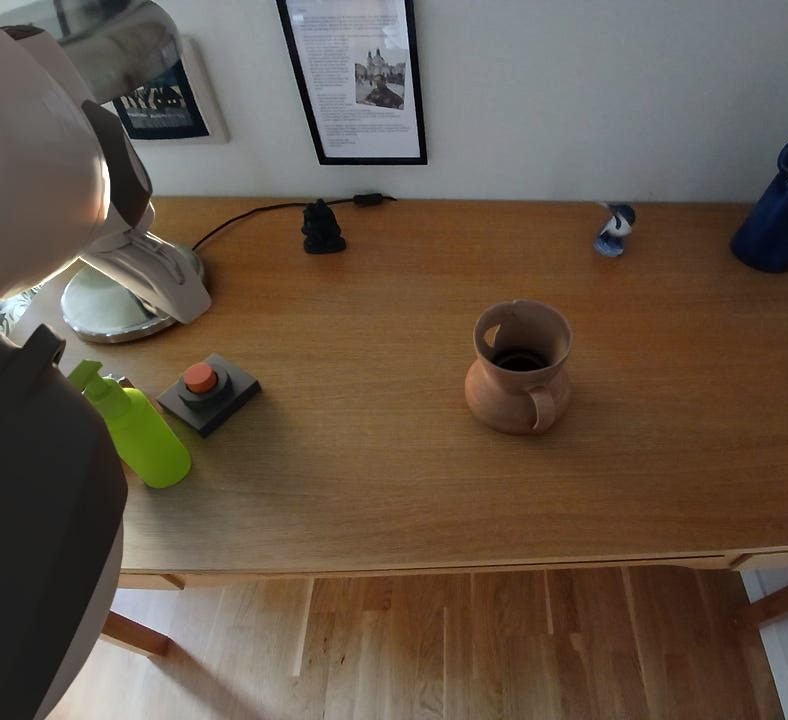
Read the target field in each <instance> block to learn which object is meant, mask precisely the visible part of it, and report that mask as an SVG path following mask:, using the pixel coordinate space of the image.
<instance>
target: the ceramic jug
mask: <svg viewBox="0 0 788 720" xmlns="http://www.w3.org/2000/svg"><path fill="white" fill-rule="evenodd" d="M497 326H498V327H497ZM494 327H497V329H496V330H495V332H494V336H493V339H492V342H491V346H490V345H489V344H488V342H487V341H486V339H485V338H484V337H485V334H486V333H487V331H488V330H490V329H492V328H494ZM573 333H574V332H573V329H572V326H571V324H570V322H569V320H568V319H567V317H566V316H565V315H564V314H563V313H562V312H560V310H558V309H557V308H555V307H553V306H551V305H549V304H548V303H545V302H542V301H539V300H534V299H529V298H517V299H514V300H513V301H508V300H504V301H501V302H497V303H495V304H493V305H491V306H490V307H488V308H487V309H485V310H484V311H483V312H482V313H481V315H480V316H479V317H478V319H477V321H476V322H475V325H474V327H473V335H472V337H473V339H472V340H473V346H474V350H475V353H476V355H477V358H476V359H475V361H474V362H473V363H472V365H471V366H470V368H469V370H468V372H467V373H466V377H465V381H464V395H465V400H466V403H467V405H468V407H469V409H470V411H471V413H472V414H473V415H474V416H475V418H476V419H477V420H478V421H479V422H481V424H483V425H484V426H486V427H487V428H488V429H490V430H492V431H495V432H496V433H499V434H502V435H505V436H512V437H531V436H540V435H542V434H543V433H545V432H546V431H547V430H549V429H551V428H552V427H554V426H555V425H556V424H557V423H558V422H560V421H561V420H562V418H563V416H564V415H565V414H566V412H567V411H568V408H569V405H570V403H571V399H572V385H571V381H570V377H569V375H568V373H567V371H566V369H565V368H564V365H565V364H566V362H567V360H568V358H569V356H570V353H571V351H572V348H573V344H574V343H573V342H574V334H573Z"/></svg>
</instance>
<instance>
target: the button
mask: <svg viewBox="0 0 788 720" xmlns="http://www.w3.org/2000/svg"><path fill="white" fill-rule="evenodd" d="M184 372H185V373H184ZM184 372H183V373H184V376H183V379H184V381H185V383H186V384H187V386H188V387H189V389H190V390H191V391H192V392H194V393H198V394H200V393H204V392H207V391H209V390H211V389H212V388H213V387H214V386H215V385H216V383H217V377H216V375H215V374H214V372H213V370H212V368H211V367H210V366H209V365H207V364H203V363H202V362H200V363H195V364H193V365H191V366H189V367H187V369H186V370H185V371H184Z"/></svg>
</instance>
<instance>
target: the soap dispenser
mask: <svg viewBox="0 0 788 720" xmlns="http://www.w3.org/2000/svg"><path fill="white" fill-rule="evenodd" d="M103 366H104V364H103V363H102V362H101V361H98V360H91V359H82V360H81V362H79V363H78V365H77V366H76V367H75V368H73V370H72V371H71V372H70V373H69V374H68V376H66V378H67V379H69V380H70V381H71V382H72V383H73V385H74V386H75V387H76V388H77V389H78V390H79V391H80V392H81V393H82V391H83V393H82V394H83V395H84V396H85V397H86V398H87V399H88V400H89V402H90V403H91V404H92V405H93V406H94V407H95V408H96V410H97V411H98V412H99V413H100V414H101V415H102V417H103V418H104V420H105V423H106V425H107V428H108V430H109V433H110V435H111V438H112V440H113V443H114V445H115V447H116V450H117V452H118V455H119V458H121V460H123V462H124V463H125V464H126V465H127V466H128V467H129V468H130V469H131V470H132V472H134V473H135V474H136V475H137V476H138V477H139V478H140V479H141V480H142V481H143V482H144V483H145V485H147V486H148V487H151V488H152V489H153V488H154V489H165V488H169V487H172V486H174V485H176V484H178V483H179V482H180V481H181V480H183V479H184V478H185V477H186V476H187V474H188V473H189V472H190V469H191V467H192V463H193V462H192V456H191V454H190V452H189V451H188V449H187V448H186V447H185V446H184V444H183V443H182V442H181V441H180V439H179V438H178V437H177V436H176V434H175V433H174V432H173V430H172V429H171V427H169V425H168V424H167V422H166V421H165V420H164V418H163V417H162V416H161V415H160V413H159V412H158V411H157V409H156V408H155V407H154V406H153V404H152V403H151V402H150V400H149V399H148V398H147V396H146V395H145V394H144V392H142V391H141V390H139V389H137V388H134V387H123V386H121V385H120V383H119V382H118V381H117V380H116V379H114V378H112V377H102V376H101V375H100V373H99V371H100V370H101V369H102V368H103Z"/></svg>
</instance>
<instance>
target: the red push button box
mask: <svg viewBox="0 0 788 720" xmlns="http://www.w3.org/2000/svg"><path fill="white" fill-rule="evenodd" d="M201 363H203V364H207V365H209V366H210V367H211V368H212V370H213V372H214V374H215V375H216V377H217V383H216V385H215V386H214V387H213V388H212V389H211V390H209V391H207V392H204V393H200V394H198V393H194V392H192V391H191V390H190V389H189V387H188V386H187V384H186V383H185V381H184V379H183V376H184V373H185V371H184V372H183V373H181V374H180V376H179V378H178V380H177V381H176V382H175V383H174V384H172V385H171V386H170V387H168V388H167V389H166V390H164V391H163V392H162V393H161V394H159V395H158V396H157V397H155V399H154V400H155V401H156V402H157V404H158V405H159V407H161V409H162V410H164V411H165V412H167V413H168V414H170V415H171V416H172V417H173V418H175V419H176V420H178V421H179V422H180V423H182V424H183V425H185V426H186V427H188V428H189V429H190V430H192V431H193V432H194V433H195V434H197V435H198V436H200V437H201V438H202V439H204V440H205V439H207V438H208V437H209V436H210V435H211V434H213V433H214V432H215V431H216V430H217V429H218V428H219V427H221V426H222V425H223V424H224V423H225V422H226V421H228V419H230V418H231V417H232V416H234V414H235V413H236V412H238V411H239V410H240V409H241V408H243V406H244V405H246V404H247V403H248V402H249V401H250V400H251V399H253V397H255V396H257V394H259V392H260V391H261V390H262V388H263V387H262V386H261V384H260V382H259V380H258V378H255V377H254V376H253V375H251V374H249V373H248V372H247V371H245V370H243V369H242V368H241V367H238V366H237V365H236V364H234V363H232V362H230V361H229V360H227V359H226V358H225V357H223V356H222V355H219V354H218V353H216V352H213V353H211V354H210V355H209V356H208V357H207V358H205V359H204V360H203V361H201Z"/></svg>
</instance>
